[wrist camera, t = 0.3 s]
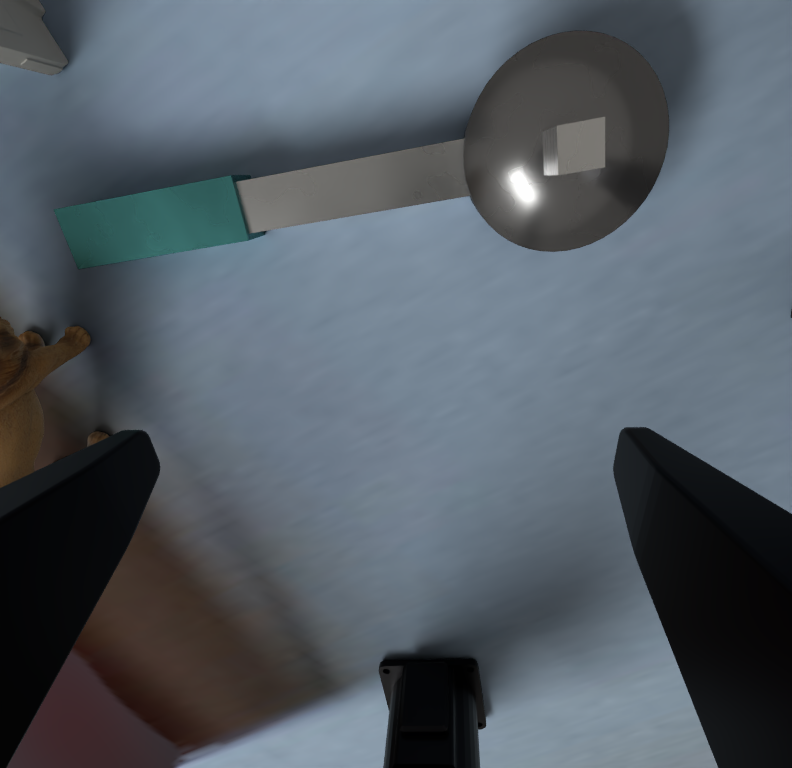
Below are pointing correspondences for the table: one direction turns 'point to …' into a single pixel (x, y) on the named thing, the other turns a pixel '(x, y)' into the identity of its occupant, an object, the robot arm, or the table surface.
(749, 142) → the table surface
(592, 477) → the table surface
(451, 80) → the table surface
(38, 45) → the cassette
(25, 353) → the lion figurine
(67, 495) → the robot arm
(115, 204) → the ratchet
